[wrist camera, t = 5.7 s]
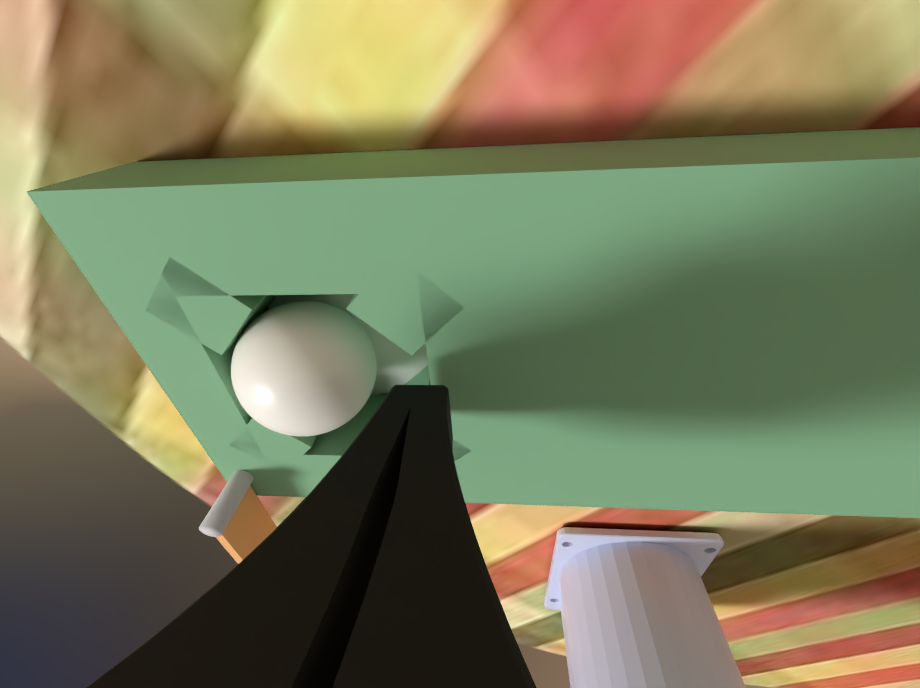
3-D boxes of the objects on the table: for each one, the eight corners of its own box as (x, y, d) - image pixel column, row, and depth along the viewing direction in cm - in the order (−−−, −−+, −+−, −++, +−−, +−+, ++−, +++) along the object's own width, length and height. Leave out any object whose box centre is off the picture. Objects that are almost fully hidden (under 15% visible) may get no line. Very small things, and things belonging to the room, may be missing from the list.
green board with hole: (885, 478, 16) (1018, 618, 12) (287, 462, 18) (228, 576, 14) (1256, 112, 8) (1994, 159, 4) (135, 161, 10) (-92, 224, 6)
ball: (227, 339, 13) (218, 275, 9) (349, 330, 15) (376, 274, 11) (241, 461, 11) (236, 435, 8) (370, 432, 14) (407, 403, 10)
